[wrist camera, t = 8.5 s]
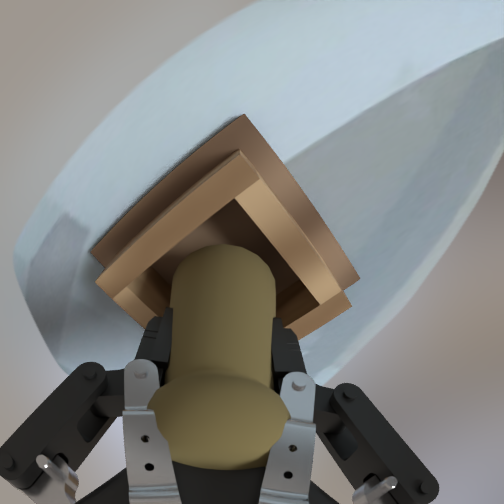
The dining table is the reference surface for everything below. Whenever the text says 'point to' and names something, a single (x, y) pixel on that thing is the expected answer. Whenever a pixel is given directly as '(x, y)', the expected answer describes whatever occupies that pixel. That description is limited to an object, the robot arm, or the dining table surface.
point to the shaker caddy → (228, 232)
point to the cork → (221, 362)
